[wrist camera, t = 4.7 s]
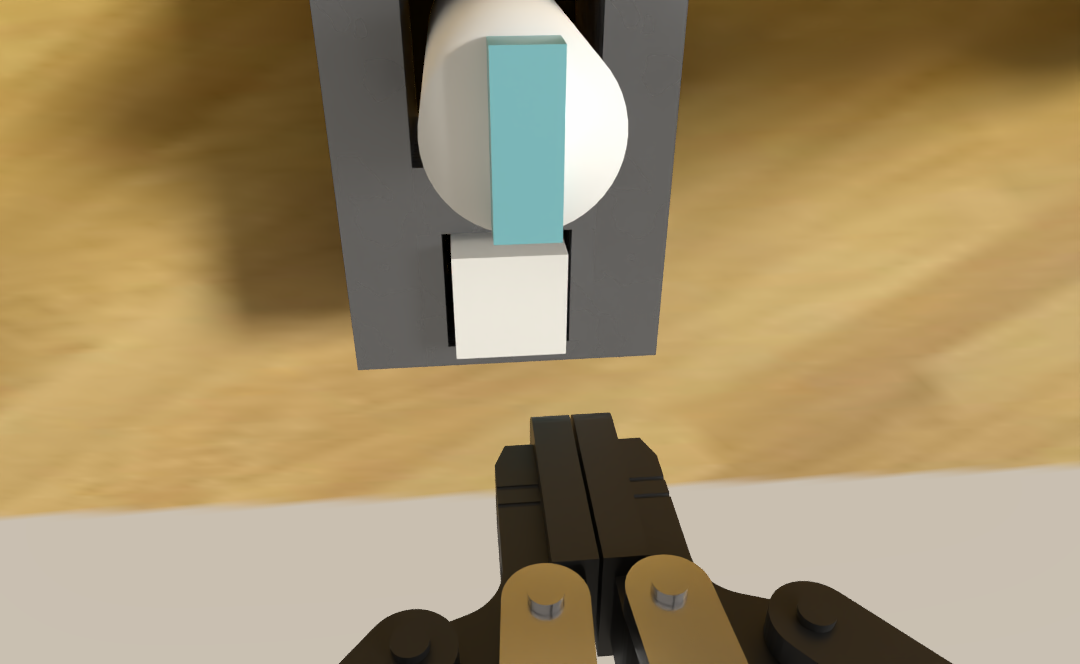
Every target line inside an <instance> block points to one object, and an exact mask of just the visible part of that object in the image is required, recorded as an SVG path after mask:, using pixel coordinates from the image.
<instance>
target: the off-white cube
mask: <svg viewBox="0 0 1080 664" xmlns="http://www.w3.org/2000/svg"><path fill="white" fill-rule="evenodd" d="M451 266H452V284H453V302H454V319H455V337H456V355H457V359H469V358H489V357H508V356H528V355H548V354H566V327H567V287H568V252H567V249H566V246H565V242H564V239H563V243H541V244H514V245H494V244H493V236H492V232H488V233H461V234H451Z"/></svg>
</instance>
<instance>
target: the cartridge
mask: <svg viewBox="0 0 1080 664" xmlns="http://www.w3.org/2000/svg"><path fill="white" fill-rule="evenodd" d="M627 139H628V117H627V110H626V105H625V101H624V98H623V94H622V92H621V89H620V87H619V85H618V82H617V81H616V79H615V77H614V76H613V74H612V72H611V71H610V69H609V68H608V67H607V65H606V64H605V63H604V62H603V60H602V59H601V58H600V57H599V55H598V54H597V53H596V52H595V50H594V49H593V48H592V47H591V45H590V44H589V43H588V42H587V40H586V39H585V38H584V37H583V36H582V34H581V33H580V32H579V31H578V29H577V28H576V27H575V26H574V24H573V23H572V22H571V21H570V19H569V18H568V17H567V16H566V14H565V13H564V12H563V11H562V9H561V8H560V7H559V6H558V4H557V3H556V2H555V1H554V0H434V2H433V5H432V7H431V11H430V15H429V22H428V31H427V40H426V50H425V60H424V70H423V79H422V89H421V99H420V109H419V118H418V145H419V152H420V156H421V160H422V163H423V167H424V169H425V171H426V174H427V176H428V178H429V180H430V182H431V184H432V185H433V187H434V189H435V190H436V192H437V193H438V194H439V195H440V197H441V198H442V199H443V200H444V201H445V202H446V203H447V204H448V205H449V206H450V207H451V208H452V209H453V210H454V211H455V212H457V213H458V214H459V215H461V216H462V217H463V218H465V219H467V220H468V221H470V222H472V223H474V224H476V225H478V226H480V227H483V228H485V229H488V230H492V236H493V244H494V245H514V244H541V243H563V226H564V225H566V224H568V223H570V222H572V221H574V220H576V219H577V218H579V217H580V216H582V215H583V214H585V213H586V212H587V211H589V210H590V209H591V208H592V207H593V206H594V205H596V203H597V202H598V201H599V200H600V199H601V198H602V197H603V196H604V195H605V193H606V192H607V191H608V189H609V188H610V186H611V185H612V183H613V182H614V180H615V178H616V176H617V174H618V172H619V170H620V167H621V165H622V162H623V159H624V155H625V151H626V147H627Z"/></svg>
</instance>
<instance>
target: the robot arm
mask: <svg viewBox="0 0 1080 664" xmlns="http://www.w3.org/2000/svg"><path fill="white" fill-rule="evenodd" d="M495 483H496V510H497V532H498V545H499V561H500V575H501V584H500V586H499V589H498V591H497V592H496V594H495V595H494V596H493V598H492V599H491V600H490V601H489V602H488V603H487V604H486V605H484V606H483V607H482V608H480V609H478V610H477V611H475V612H473V613H471V614H468V615H466V616H463V617H461V618H458V619H456V620H453V621H450V622H449V621H448V620H447V619H446V618H444V617H443V616H441V615H439V614H437V613H435V612H432V611H428V610H422V609H411V610H405V611H401V612H398V613H395V614H393V615H391V616H389V617H387V618H385V619H384V620H382V621H381V622H380V623H379V624H377V625H376V626H375V627H374V628H373V629H372V630H371V631H370V632H369V633H368V634H367V635H366V636H365V637H364V638H363V640H361V642H360V643H359V644H358V645H357V646H356V647H355V648H354V649H353V650H352V651H351V652H350V653H349V654H348V655H347V656H346V657H345V658H344V659H343V660H342V661H341V662H340V663H339V664H597V659H596V650H597V655H598V656H611V655H614V660H615V664H952V663H950V662H949V661H947V660H946V659H944V658H943V657H941V656H939V655H938V654H936V653H934V652H933V651H931V650H930V649H928V648H927V647H925V646H923V645H922V644H920V643H919V642H917V641H916V640H914V639H913V638H911V637H909V636H908V635H906V634H904V633H903V632H901V631H900V630H898V629H897V628H895V627H893V626H892V625H890V624H889V623H887V622H885V621H884V620H882V619H881V618H879V617H878V616H876V615H874V614H873V613H871V612H870V611H868V610H866V609H865V608H863V607H862V606H860V605H859V604H857V603H856V602H854V601H852V600H851V599H849V598H847V597H846V596H844V595H843V594H841V593H840V592H838V591H836V590H834V589H832V588H830V587H828V586H826V585H823V584H819V583H815V582H809V581H798V582H791V583H788V584H785V585H783V586H781V587H780V588H779V589H777V590H776V591H775V592H774V594H773V595H772V597H771V599H766V598H761V597H756V596H750V595H745V594H741V593H736V592H733V591H730V590H727V589H724V588H722V587H720V586H718V585H716V584H714V583H713V582H712V581H711V580H710V578H709V577H708V576H707V574H706V573H705V572H704V571H703V570H702V569H701V568H700V567H699V566H697V565H696V564H695V563H693V561H692V558H691V556H690V553H689V550H688V547H687V544H686V541H685V538H684V535H683V532H682V530H681V527H680V523H679V520H678V518H677V514H676V512H675V508H674V505H673V502H672V500H671V497H669V491H668V488H667V485H666V482H665V480H664V478H663V473H662V470H661V467H660V464H659V461H658V458H657V455H656V454H655V453H654V452H653V451H652V450H651V449H650V448H649V447H648V446H647V445H646V444H645V443H644V442H643V441H642V440H641V439H640V438H628V439H618V437H617V434H616V430H615V427H614V423H613V419H612V416H611V414H610V413H593V414H575V415H571V418H570V417H569V415H561V416H544V417H531V418H530V445H515V446H505V447H504V449H503V451H502V453H501V455H500V456H499V458H498V460H497V462H496V464H495ZM595 644H596V648H595Z"/></svg>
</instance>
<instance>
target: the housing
mask: <svg viewBox="0 0 1080 664" xmlns="http://www.w3.org/2000/svg"><path fill="white" fill-rule="evenodd" d="M310 8H311V15H312V23H313V30H314V38H315V46H316V53H317V61H318V69H319V76H320V84H321V91H322V99H323V107H324V114H325V122H326V130H327V137H328V145H329V152H330V160H331V168H332V175H333V183H334V191H335V198H336V206H337V213H338V221H339V229H340V236H341V244H342V252H343V259H344V267H345V274H346V282H347V290H348V297H349V305H350V313H351V320H352V328H353V335H354V343H355V351H356V358H357V366H358V370H369V369H388V368H408V367H428V366H447V365H467V364H486V363H506V362H526V361H545V360H565V359H585V358H604V357H624V356H644V355H656V346H657V335H658V324H659V313H660V302H661V292H662V281H663V270H664V259H665V248H666V238H667V227H668V216H669V205H670V194H671V183H672V173H673V162H674V151H675V140H676V129H677V119H678V108H679V97H680V86H681V75H682V64H683V54H684V43H685V32H686V21H687V10H688V0H576V9H575V27H576V28H577V29H578V31H579V32H580V33H581V34H582V36H583V37H584V38H585V39H586V40H587V42H588V43H589V44H590V45H591V47H592V48H593V49H594V50H595V52H596V53H597V54H598V55H599V57H600V58H601V59H602V60H603V62H604V63H605V64H606V65H607V67H608V68H609V69H610V71H611V72H612V74H613V76H614V77H615V79H616V81H617V82H618V85H619V87H620V89H621V92H622V94H623V98H624V101H625V105H626V110H627V117H628V139H627V147H626V151H625V155H624V159H623V162H622V165H621V167H620V170H619V172H618V174H617V176H616V178H615V180H614V182H613V183H612V185H611V186H610V188H609V189H608V191H607V192H606V193H605V195H604V196H603V197H602V198H601V199H600V200H599V201H598V202H597V203H596V205H594V206H593V207H592V208H591V209H590V210H589V211H587V212H586V213H585V214H583V215H582V216H580V217H579V218H577V219H576V220H574V221H572V222H570V223H568V224H566V225H564V226H563V239H564V242H565V246H566V249H567V252H568V287H567V327H566V354H548V355H528V356H508V357H489V358H469V359H457V355H456V337H455V319H454V302H453V284H452V273H451V274H448V270H447V253H446V236H445V234H461V233H488V232H492V230H488V229H485V228H483V227H480V226H478V225H476V224H474V223H472V222H470V221H468V220H467V219H465V218H463V217H462V216H461V215H459V214H458V213H457V212H455V211H454V210H453V209H452V208H451V207H450V206H449V205H448V204H447V203H446V202H445V201H444V200H443V199H442V198H441V197H440V195H439V194H438V193H437V192H436V190H435V189H434V187H433V185H432V184H431V182H430V180H429V178H428V176H427V174H426V171H425V169H424V167H423V163H422V160H421V156H420V152H419V145H418V118H419V117H417V104H416V91H415V77H414V63H413V49H412V35H411V22H410V8H409V0H310Z"/></svg>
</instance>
